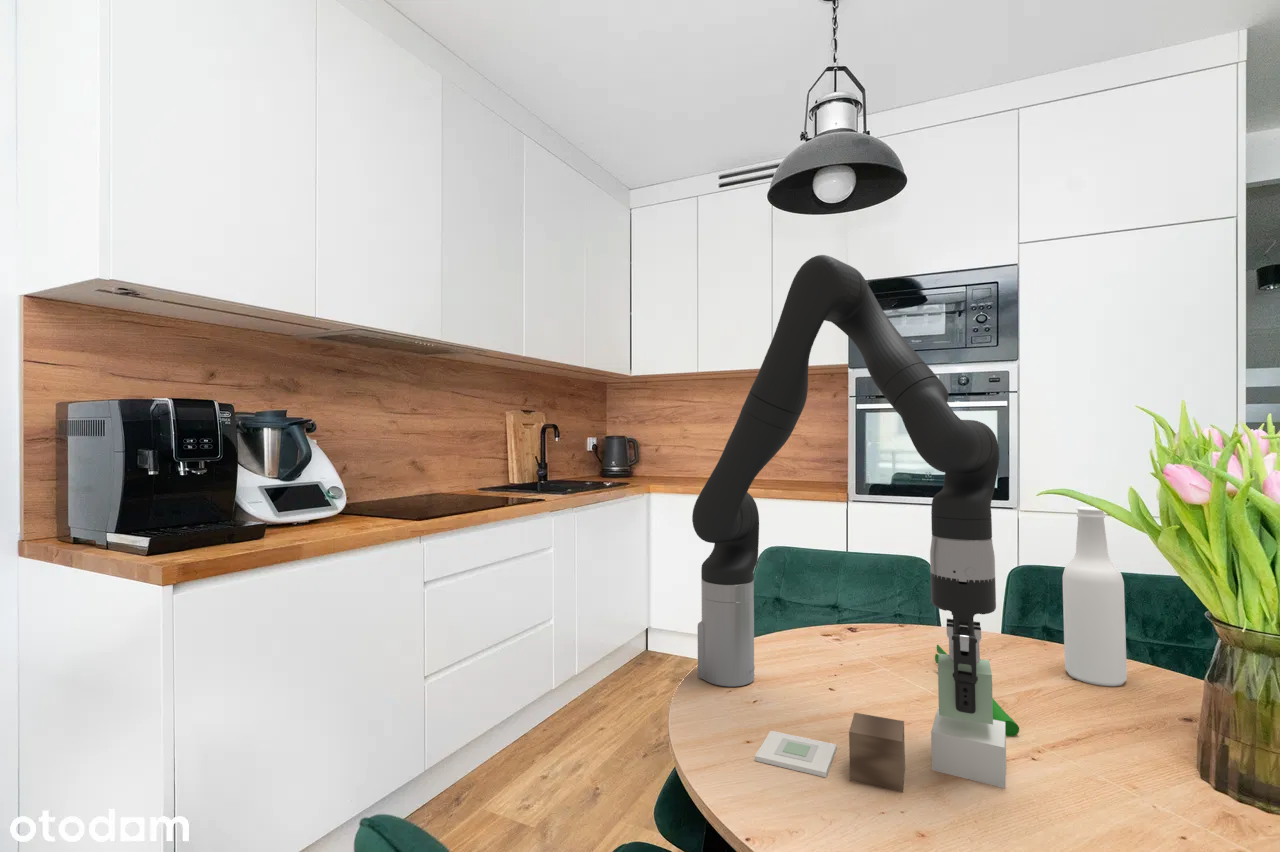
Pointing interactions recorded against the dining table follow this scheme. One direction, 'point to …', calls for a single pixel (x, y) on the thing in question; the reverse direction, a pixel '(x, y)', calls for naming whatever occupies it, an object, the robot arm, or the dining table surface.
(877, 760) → the walnut block
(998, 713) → the green onion
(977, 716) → the sage block
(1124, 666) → the alcohol
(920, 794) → the dining table surface
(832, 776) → the dining table surface
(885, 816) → the dining table surface
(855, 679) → the dining table surface
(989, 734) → the grey base block
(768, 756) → the card
